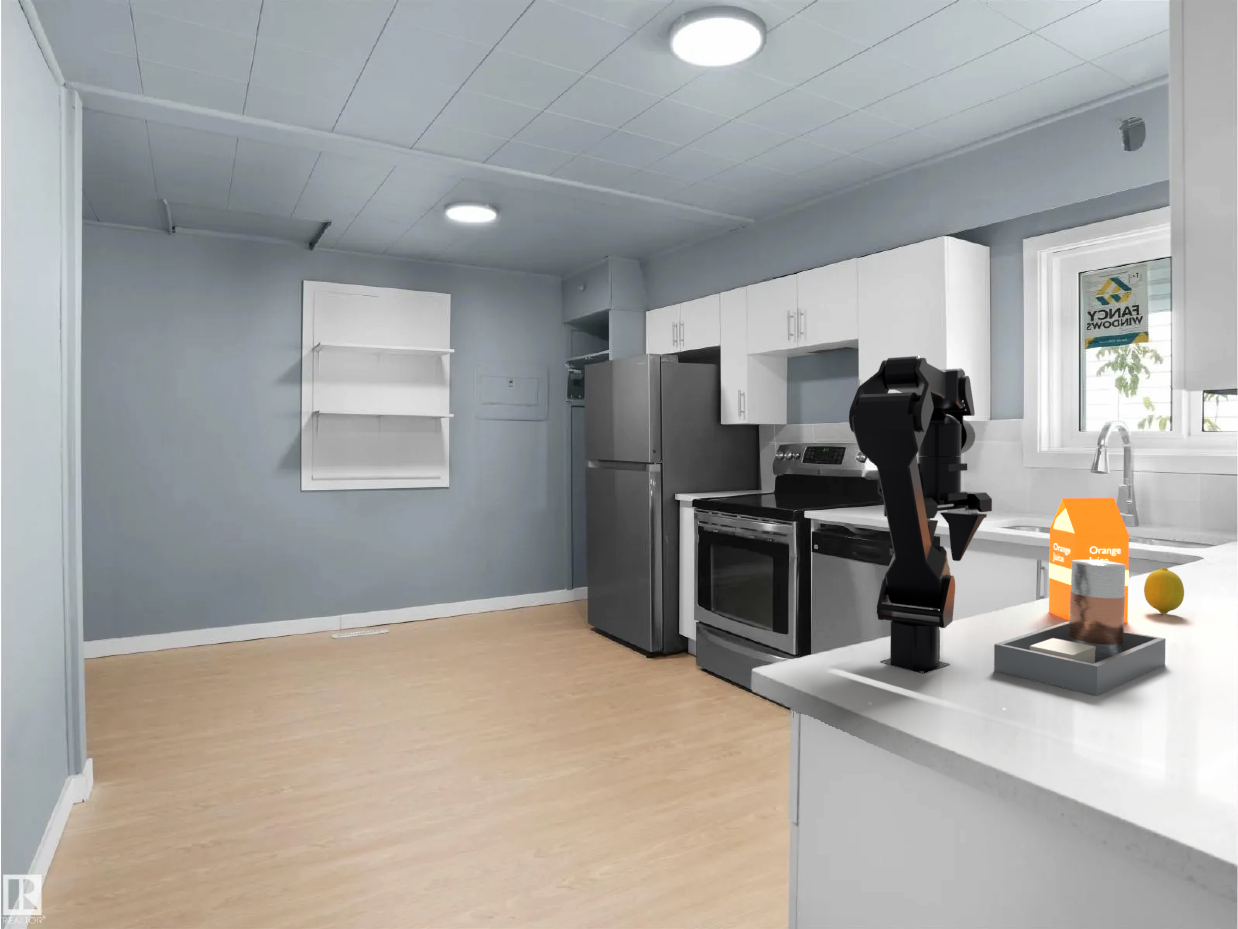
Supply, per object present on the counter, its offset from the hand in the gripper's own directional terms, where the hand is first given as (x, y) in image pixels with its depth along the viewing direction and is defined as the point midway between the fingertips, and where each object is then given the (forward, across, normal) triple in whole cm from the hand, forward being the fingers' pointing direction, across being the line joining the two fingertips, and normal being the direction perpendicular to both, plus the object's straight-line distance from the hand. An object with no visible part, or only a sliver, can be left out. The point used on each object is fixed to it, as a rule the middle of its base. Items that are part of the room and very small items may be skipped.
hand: (938, 564), depth 111 cm
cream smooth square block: (+11, +2, +18) cm, 21 cm away
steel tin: (+11, -7, +18) cm, 22 cm away
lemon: (+12, -48, +12) cm, 51 cm away
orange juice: (+12, -36, +5) cm, 38 cm away
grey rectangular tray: (+12, -3, +18) cm, 22 cm away
